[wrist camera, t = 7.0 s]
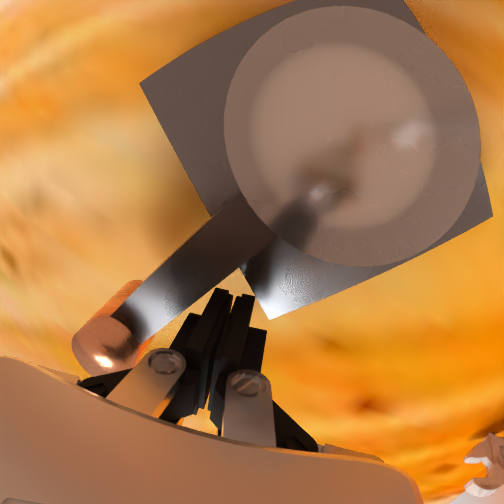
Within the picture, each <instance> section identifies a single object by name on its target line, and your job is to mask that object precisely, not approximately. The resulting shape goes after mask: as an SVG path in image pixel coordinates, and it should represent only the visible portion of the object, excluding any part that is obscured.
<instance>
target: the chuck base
mask: <svg viewBox="0 0 504 504" xmlns="http://www.w3.org/2000/svg"><path fill="white" fill-rule="evenodd" d="M329 6H355V7H362V8H368V9H372V10H376V11H379V12H383V13H386V14H389V15H391V16H393V17H396V18H398V19H400V20H402V21H404V22H406V23H408V24H409V25H411V26H413V27H414V28H416V29H418V30H419V31H420V32H422V33H423V34H424V35H426V34H425V32H424V30H423V29H422V27H421V26H420V24H419V22H418V21H417V19H416V18H415V16H414V15H413V13H412V12H411V10H410V9H409V7H408V6H407V4H406V3H405V2H404V0H296V1H293V2H290V3H288V4H285V5H282V6H280V7H277V8H274V9H272V10H269V11H267V12H265V13H262V14H260V15H258V16H255V17H253V18H251V19H249V20H246V21H244V22H242V23H240V24H238V25H236V26H234V27H232V28H230V29H228V30H226V31H224V32H222V33H220V34H218V35H216V36H214V37H212V38H210V39H208V40H207V41H205V42H203V43H201V44H199V45H198V46H196V47H194V48H192V49H191V50H189V51H187V52H186V53H184V54H182V55H181V56H179V57H178V58H176V59H174V60H173V61H171V62H170V63H168V64H167V65H165V66H164V67H162V68H161V69H159V70H158V71H156V72H155V73H153V74H152V75H150V76H149V77H147V78H146V79H145V80H143V81H142V82H140V83H139V84H140V86H141V88H142V90H143V92H144V94H145V95H146V97H147V99H148V101H149V103H150V105H151V107H152V109H153V111H154V113H155V115H156V116H157V118H158V120H159V122H160V124H161V126H162V128H163V130H164V132H165V133H166V135H167V137H168V139H169V141H170V143H171V145H172V146H173V148H174V150H175V152H176V154H177V156H178V158H179V159H180V161H181V163H182V165H183V167H184V169H185V171H186V172H187V174H188V176H189V178H190V180H191V182H192V183H193V185H194V187H195V189H196V191H197V193H198V194H199V196H200V198H201V200H202V202H203V204H204V205H205V207H206V209H207V211H208V213H209V214H210V216H211V217H212V216H213V215H214V214H215V213H216V212H218V211H219V210H220V209H221V208H222V207H223V206H224V205H225V204H227V203H228V202H229V201H230V200H231V199H232V198H233V197H234V196H236V195H237V194H238V193H239V192H240V191H241V190H240V188H239V186H238V184H237V182H236V179H235V177H234V175H233V172H232V169H231V166H230V163H229V159H228V156H227V151H226V144H225V138H224V113H225V105H226V98H227V95H228V91H229V88H230V84H231V81H232V79H233V77H234V74H235V72H236V70H237V68H238V66H239V64H240V62H241V61H242V59H243V58H244V56H245V55H246V53H247V52H248V50H249V49H250V48H251V47H252V46H253V45H254V44H255V42H256V41H257V40H258V39H259V38H260V37H261V36H263V35H264V34H265V33H266V32H267V31H269V30H270V29H271V28H272V27H274V26H275V25H277V24H279V23H280V22H282V21H284V20H285V19H287V18H289V17H292V16H294V15H296V14H299V13H301V12H304V11H308V10H312V9H316V8H321V7H329ZM426 36H427V35H426ZM491 217H493V214H492V208H491V203H490V198H489V193H488V189H487V185H486V180H485V176H484V173H483V169H482V165H481V161H480V163H479V169H478V175H477V179H476V182H475V185H474V189H473V191H472V194H471V196H470V198H469V200H468V203H467V205H466V206H465V208H464V210H463V211H462V213H461V215H460V216H459V218H458V219H457V220H456V222H455V223H454V224H453V225H452V227H451V228H450V229H449V230H448V231H447V232H446V233H445V234H444V235H443V236H442V237H441V238H440V239H439V240H437V241H436V242H434V243H433V244H432V245H430V246H429V247H428V248H426V249H424V250H423V251H421V252H419V253H417V254H415V255H414V256H411V257H409V258H406V259H403V260H401V261H398V262H394V263H390V264H385V265H378V266H369V267H363V266H347V265H341V264H335V263H331V262H328V261H324V260H321V259H318V258H316V257H313V256H311V255H309V254H306V253H304V252H302V251H300V250H299V249H297V248H295V247H294V246H292V245H290V244H289V243H287V242H286V241H285V240H283V239H282V238H281V237H279V236H278V237H277V238H275V239H274V240H273V241H272V242H270V243H269V244H268V245H266V246H265V247H264V248H263V249H261V250H260V251H259V252H258V253H256V254H255V255H254V256H253V257H251V258H250V259H249V260H248V261H246V262H245V263H244V264H242V265H241V266H240V267H239V268H240V270H241V271H242V273H243V275H244V277H245V279H246V280H247V282H248V284H249V286H250V287H251V289H252V291H253V293H254V294H255V296H256V298H257V300H258V301H259V303H260V305H261V306H262V308H263V310H264V312H265V313H266V315H267V317H268V319H269V320H270V319H273V318H275V317H278V316H281V315H283V314H286V313H289V312H291V311H294V310H296V309H299V308H301V307H304V306H306V305H309V304H311V303H314V302H316V301H319V300H321V299H324V298H326V297H328V296H331V295H333V294H336V293H338V292H340V291H343V290H345V289H347V288H350V287H352V286H354V285H357V284H359V283H361V282H363V281H366V280H368V279H370V278H372V277H375V276H377V275H379V274H381V273H383V272H385V271H388V270H390V269H392V268H394V267H396V266H398V265H400V264H403V263H405V262H407V261H409V260H411V259H413V258H415V257H417V256H419V255H421V254H423V253H425V252H427V251H429V250H431V249H433V248H435V247H437V246H439V245H441V244H443V243H445V242H447V241H449V240H451V239H452V238H454V237H456V236H458V235H460V234H462V233H464V232H466V231H467V230H469V229H471V228H473V227H475V226H477V225H478V224H480V223H482V222H484V221H486V220H487V219H489V218H491Z"/></svg>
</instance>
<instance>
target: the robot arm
mask: <svg viewBox="0 0 504 504" xmlns="http://www.w3.org/2000/svg"><path fill="white" fill-rule="evenodd" d="M232 300H233V295H231V294H229V290H225V289H220V288H215V290H214V292H213V294H212V296H211V298H210V300H209V302H208V304H207V305H206V307H205V309H204V311H203V313H202V315H198V314H194V313H189V315H188V316H187V318H186V320H185V321H184V323H183V325H182V327H181V328H180V330H179V332H178V334H177V335H176V337H175V339H174V341H173V342H172V344H171V346H170V347H169V349H168V348H159V349H154V350H152V351H150V352H149V353H147V354H146V355H145V356H144V357H143V358H142V359H141V361H140V362H139V363H138V364H137V365H136V366H135V367H134V368H130V369H126V370H122V371H117V372H113V373H108V374H104V375H99V376H94V377H90V378H87V379H84V380H80V377H78V376H74V375H71V374H67V373H63V372H60V371H56V370H53V369H49V368H46V367H43V366H39V365H35V364H32V363H30V362H27V361H25V360H21V359H18V358H15V357H10V356H5V355H0V504H424V503H423V499H422V496H421V493H420V490H419V488H418V486H417V484H416V482H415V481H414V479H413V478H412V477H411V476H410V475H409V474H408V473H406V472H405V471H403V470H401V469H399V468H397V467H395V466H392V465H389V464H386V463H384V461H383V460H381V459H380V458H379V457H377V456H374V455H370V454H365V453H361V452H357V451H352V450H348V449H344V448H340V447H336V446H333V445H329V444H325V445H324V446H322V445H319V444H317V443H316V441H315V440H314V439H313V438H312V437H311V436H310V435H309V434H308V433H307V432H306V431H305V430H303V429H302V428H301V427H300V426H299V425H298V424H297V423H296V422H295V421H294V420H293V419H292V418H291V417H290V416H289V415H288V414H287V413H285V412H284V411H283V410H282V409H281V408H280V407H279V406H278V405H277V404H276V403H275V402H274V401H273V400H272V393H271V385H270V382H269V380H268V379H267V378H266V377H265V376H264V375H263V374H261V373H260V372H261V366H262V360H263V353H264V347H265V341H266V334H267V330H262V329H257V328H253V327H249V324H250V320H251V315H252V310H253V306H254V301H255V296H251V295H247V294H242V297H240V296H237V297H236V299H235V302H234V305H233V307H232V310H231V306H232ZM230 312H231V313H230ZM209 392H210V396H209V403H208V410H209V411H211V414H210V419H211V421H212V422H213V423H214V425H215V426H216V427H217V428H218V429H217V435H213V434H209V433H205V432H201V431H197V430H194V429H190V428H187V427H183V426H181V425H182V423H183V420H184V417H186V416H189V415H192V414H194V415H196V414H197V411H198V409H199V408H202V409H204V407H205V404H206V401H207V398H208V395H209Z"/></svg>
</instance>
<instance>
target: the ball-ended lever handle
mask: <svg viewBox="0 0 504 504" xmlns="http://www.w3.org/2000/svg"><path fill="white" fill-rule="evenodd" d="M224 138H225V144H226V151H227V156H228V159H229V163H230V166H231V169H232V172H233V175H234V177H235V179H236V182H237V184H238V186H239V188H240V190H241V191H240V192H239V193H238V194H237V195H236V196H234V197H233V198H232V199H231V200H230V201H229V202H228V203H227V204H225V205H224V206H223V207H222V208H221V209H220V210H219V211H218V212H216V213H215V214H214V215H213V216H212V217H211V218H210V219H209V220H208V221H207V222H205V223H204V224H203V225H202V226H201V227H200V228H199V229H198V230H197V231H196V232H195V233H193V234H192V235H191V236H190V237H189V238H188V239H187V240H186V241H185V242H184V243H183V244H182V245H181V246H180V247H179V248H177V249H176V250H175V251H174V252H173V253H172V254H171V255H170V256H169V257H168V258H167V259H166V260H165V261H164V262H163V263H162V264H161V265H160V266H159V267H158V268H157V269H156V270H155V271H154V272H153V273H151V274H150V275H149V276H148V277H147V278H146V279H145V280H144V281H141V280H134V281H130V282H128V283H127V284H126V285H125V286H124V287H122V288H121V289H120V290H119V291H118V292H117V293H116V294H115V295H114V296H113V297H112V298H111V299H110V300H109V301H108V302H107V303H106V304H105V305H104V306H103V307H102V308H101V309H100V310H99V311H98V312H97V313H96V314H95V315H94V316H93V317H92V318H91V319H90V320H89V321H88V322H87V323H86V324H85V325H84V326H83V327H82V328H81V329H80V330H79V331H78V332H77V333H76V334H75V335H74V337H73V339H72V349H73V352H74V355H75V357H76V359H77V360H78V362H79V363H80V365H81V366H82V367H83V368H84V369H85V370H86V371H87V372H88V373H89V374H90V375H92V376H93V377H94V376H99V375H104V374H108V373H113V372H117V371H122V370H126V369H130V368H134V367H135V365H136V364H137V362H138V361H139V359H140V358H141V356H142V354H143V353H144V351H145V350H146V348H147V347H148V345H149V344H150V342H151V340H152V339H153V337H154V336H155V334H156V333H157V331H159V330H160V329H161V328H163V327H164V326H165V325H166V324H168V323H169V322H170V321H171V320H173V319H174V318H175V317H177V316H178V315H179V314H180V313H182V312H183V311H184V310H185V309H187V308H188V307H189V306H191V305H192V304H193V303H194V302H196V301H197V300H198V299H199V298H201V297H202V296H203V295H205V294H206V293H207V292H208V291H210V290H211V289H212V288H213V287H215V286H216V285H217V284H218V283H220V282H221V281H222V280H224V279H225V278H226V277H227V276H229V275H230V274H231V273H232V272H234V271H235V270H236V269H237V268H239V267H240V266H241V265H242V264H244V263H245V262H246V261H248V260H249V259H250V258H251V257H253V256H254V255H255V254H256V253H258V252H259V251H260V250H261V249H263V248H264V247H265V246H266V245H268V244H269V243H270V242H272V241H273V240H274V239H275V238H277V237H278V236H279V237H281V238H282V239H283V240H285V241H286V242H287V243H289V244H290V245H292V246H294V247H295V248H297V249H299V250H300V251H302V252H304V253H306V254H309V255H311V256H313V257H316V258H318V259H321V260H324V261H328V262H331V263H335V264H341V265H347V266H363V267H369V266H378V265H385V264H390V263H394V262H398V261H401V260H403V259H406V258H409V257H411V256H414V255H415V254H417V253H419V252H421V251H423V250H424V249H426V248H428V247H429V246H430V245H432V244H433V243H434V242H436V241H437V240H439V239H440V238H441V237H442V236H443V235H444V234H445V233H446V232H447V231H448V230H449V229H450V228H451V227H452V225H453V224H454V223H455V222H456V220H457V219H458V218H459V216H460V215H461V213H462V211H463V210H464V208H465V206H466V205H467V203H468V200H469V198H470V196H471V194H472V191H473V189H474V185H475V182H476V179H477V175H478V169H479V163H480V151H481V140H480V128H479V123H478V118H477V113H476V109H475V106H474V103H473V100H472V97H471V95H470V92H469V90H468V88H467V86H466V84H465V82H464V80H463V78H462V77H461V75H460V73H459V72H458V70H457V69H456V67H455V65H454V64H453V63H452V62H451V60H450V59H449V58H448V57H447V55H446V54H445V53H444V52H443V51H442V50H441V49H440V48H439V47H438V46H437V45H436V44H435V43H434V42H433V41H432V40H431V39H429V38H428V37H427V36H426V35H424V34H423V33H422V32H420V31H419V30H418V29H416V28H414V27H413V26H411V25H409V24H408V23H406V22H404V21H402V20H400V19H398V18H396V17H393V16H391V15H389V14H386V13H383V12H379V11H376V10H372V9H368V8H362V7H355V6H329V7H321V8H316V9H312V10H308V11H304V12H301V13H299V14H296V15H294V16H292V17H289V18H287V19H285V20H284V21H282V22H280V23H279V24H277V25H275V26H274V27H272V28H271V29H270V30H269V31H267V32H266V33H265V34H264V35H263V36H261V37H260V38H259V39H258V40H257V41H256V42H255V44H254V45H253V46H252V47H251V48H250V49H249V50H248V52H247V53H246V55H245V56H244V58H243V59H242V61H241V62H240V64H239V66H238V68H237V70H236V72H235V74H234V77H233V79H232V81H231V84H230V88H229V91H228V95H227V98H226V105H225V113H224Z"/></svg>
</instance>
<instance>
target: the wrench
mask: <svg viewBox="0 0 504 504" xmlns="http://www.w3.org/2000/svg"><path fill="white" fill-rule="evenodd" d="M481 461H482V463H483V464H484V465H485V466H486V468H487V474H486V477H485V478H473V479H471V480H470V481H469V482H468V483H467V484H466V485H464V486H465V490H466V491H468V492H469V493H470V494H472V495H474V496H478V497H479V496H480V497H485V496H488V495H490V494H492V493H493V492H495V491H496V490H497V489H498V488H499V487H501V486H502V485H503V484H504V437H497V436H496V435H494V434H492V433H489V434H488V435H487V436H486V437H485V438H484V439H483V441H482V442H480V443H478V444H477V445H476V446H475V447H473V448H472V449H471V450H470V451H469V453H468V454H467V455H466V456H465V457H464V462H465V463H479V462H481Z"/></svg>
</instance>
